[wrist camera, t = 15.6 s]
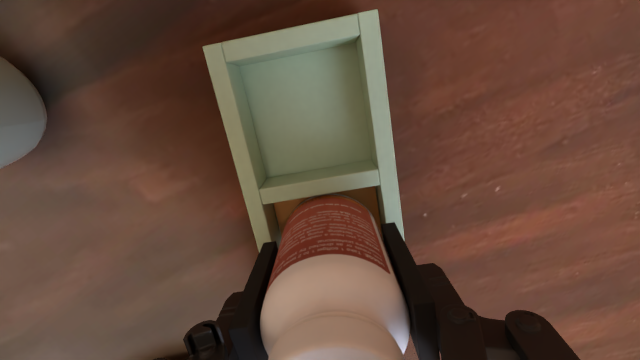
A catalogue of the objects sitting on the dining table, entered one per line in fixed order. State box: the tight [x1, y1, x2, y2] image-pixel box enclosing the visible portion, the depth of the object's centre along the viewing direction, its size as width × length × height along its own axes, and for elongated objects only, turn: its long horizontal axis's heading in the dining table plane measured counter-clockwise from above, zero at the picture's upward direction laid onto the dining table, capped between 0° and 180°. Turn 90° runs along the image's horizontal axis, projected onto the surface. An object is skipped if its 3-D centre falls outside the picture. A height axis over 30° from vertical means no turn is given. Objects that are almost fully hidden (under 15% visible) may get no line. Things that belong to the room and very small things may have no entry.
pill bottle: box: [260, 193, 410, 360], centre depth 14 cm, size 6×6×11 cm
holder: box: [203, 9, 405, 253], centre depth 18 cm, size 9×17×3 cm, turn 11°
